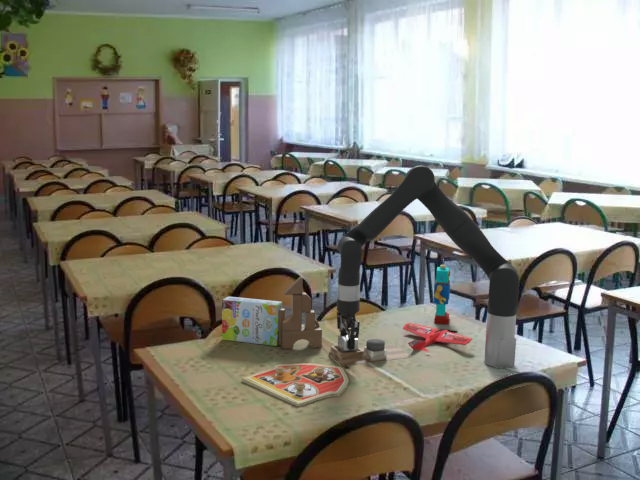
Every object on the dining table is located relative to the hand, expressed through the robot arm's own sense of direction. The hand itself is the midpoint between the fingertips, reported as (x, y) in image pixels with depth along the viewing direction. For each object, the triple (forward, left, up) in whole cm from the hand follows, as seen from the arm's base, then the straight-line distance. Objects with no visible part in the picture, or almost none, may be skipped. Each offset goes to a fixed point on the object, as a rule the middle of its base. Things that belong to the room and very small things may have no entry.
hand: (347, 345), depth 248 cm
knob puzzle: (-15, +20, -5) cm, 26 cm away
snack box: (+27, +25, -5) cm, 37 cm away
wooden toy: (+17, +11, -4) cm, 21 cm away
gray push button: (-5, -8, -3) cm, 10 cm away
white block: (0, 0, -3) cm, 3 cm away
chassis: (-2, -8, -4) cm, 9 cm away
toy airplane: (+2, -33, -5) cm, 33 cm away
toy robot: (+28, -52, -5) cm, 59 cm away
